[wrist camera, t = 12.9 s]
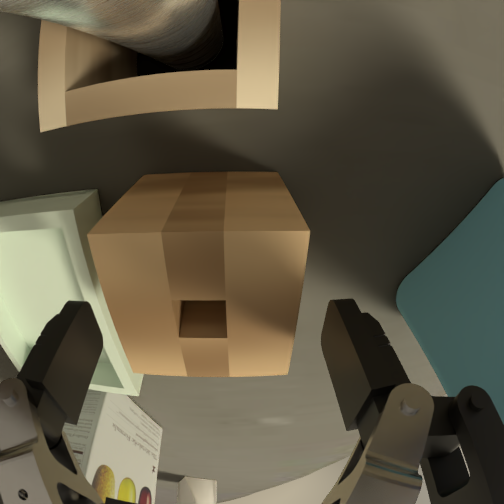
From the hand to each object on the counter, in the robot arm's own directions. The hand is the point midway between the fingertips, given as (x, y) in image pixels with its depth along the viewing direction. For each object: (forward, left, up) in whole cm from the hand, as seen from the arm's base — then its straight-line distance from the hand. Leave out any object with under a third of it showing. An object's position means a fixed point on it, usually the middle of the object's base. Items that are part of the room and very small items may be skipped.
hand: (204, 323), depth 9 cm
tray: (+4, -11, -6) cm, 13 cm away
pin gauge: (-9, -1, -6) cm, 11 cm away
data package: (+1, +16, -6) cm, 17 cm away
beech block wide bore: (-9, -1, -6) cm, 11 cm away
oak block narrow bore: (0, 0, -6) cm, 6 cm away
